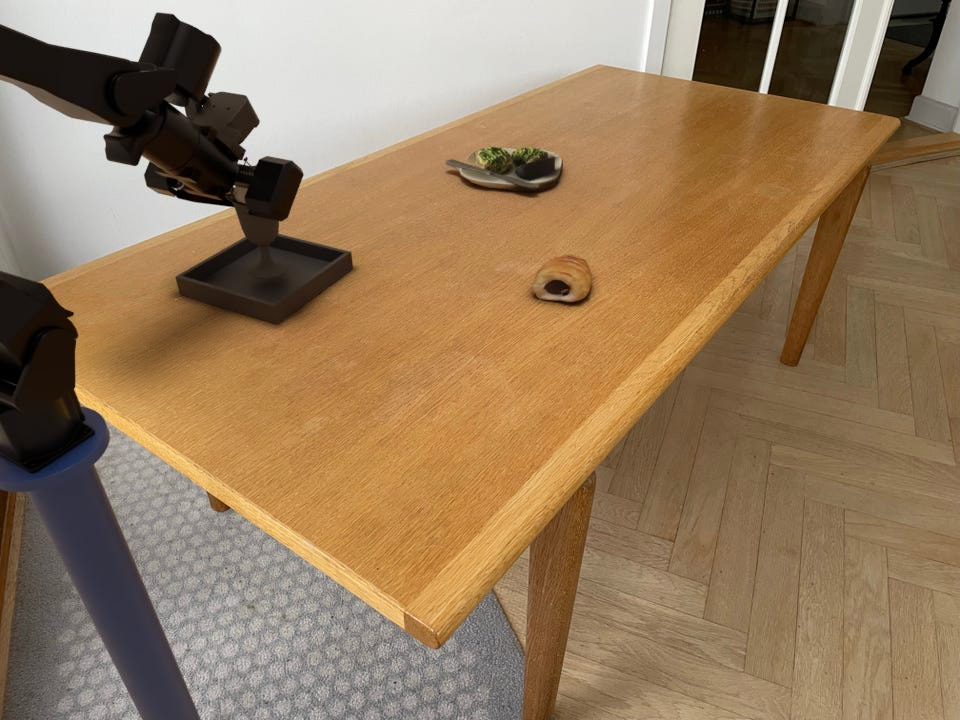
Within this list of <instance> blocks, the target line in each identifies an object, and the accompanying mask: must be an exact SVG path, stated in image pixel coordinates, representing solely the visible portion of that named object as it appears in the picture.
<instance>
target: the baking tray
mask: <svg viewBox="0 0 960 720" xmlns="http://www.w3.org/2000/svg"><path fill="white" fill-rule="evenodd" d="M269 250H270V254H271V257H272V259H273V260H280V261H283V262H284V263H286V264H287V265H288V270H287V271H286V273H284V274H283V275H281V276H278V277H275V278H271V279H257V278H254V277H252V276H250V275H249V274H248V268H249V267H250V266H251V265H253V264H254V263H257V262H260V249H259V246H258V245H256V244H254V243H252V242H250V241H249V240H248V239H247V238H246V237H245V236H244V237H242V238H240V239H239V240H237V241H235V242H234V243H231V244H230V245H228V246H226V247H224V248H223V249H221V250H220V251H218V252H216V253H214V254H212V255H210V256H209V257H207V258H206V259H204V260H202V261H201V262H199V263H196V264H195V265H193V266H192V267H189V268H188V269H186V270H185V271H182V272H181V273H179V274H177V275H176V276H175V282H176V286H177V289H178V293H179V295H180V296H182V297H183V296H184V297H187V298H190V299H193V300H196V301H200V302H203V303H205V304H210V305H213V306H215V307H219V308H222V309H226V310H230V311H232V312H236V313H239V314H242V315H246V316H248V317H251V318H254V319H258V320H262V321H264V322H268V323H271V324H274V325H279V324H280V323H282V322H283V321H284V320H285V319H287V318H288V317H290V316H291V315H292V314H293V313H295V312H297V311H298V310H299V309H301V308H302V307H303V306H305V305H306V304H307V303H309V302H310V301H311V300H313V299H314V298H316V297H317V296H318V295H320V294H321V293H322V292H324V291H326V289H328V288H329V287H330V286H332V285H333V284H335V283H337V282H338V281H339V280H341V278H343V277H344V276H346V275H347V274H348V273H350V272H351V271H352V270H354V263H353V255H352V254H353V253H352V251H349V250H345V249H342V248H338V247H333V246H329V245H327V244H326V245H325V244H322V243H318V242H313V241H310V240H305V239H301V238H297V237H294V236H289V235H285V234H281V233H278V235H277V237H276V238H275V240H274V241H273V242H272V243H271V244H270V245H269Z"/></svg>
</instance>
